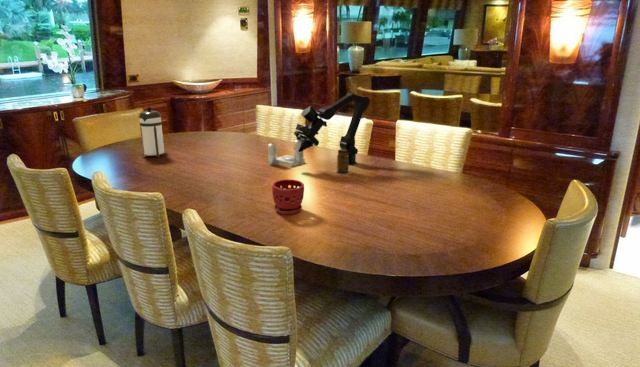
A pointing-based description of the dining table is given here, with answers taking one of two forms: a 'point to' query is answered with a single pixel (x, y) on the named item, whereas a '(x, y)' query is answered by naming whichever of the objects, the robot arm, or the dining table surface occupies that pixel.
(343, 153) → the condiment
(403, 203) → the dining table surface
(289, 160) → the scale
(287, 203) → the plant pot
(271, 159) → the cylinder
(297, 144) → the shiny silver cylinder
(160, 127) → the coffee press
